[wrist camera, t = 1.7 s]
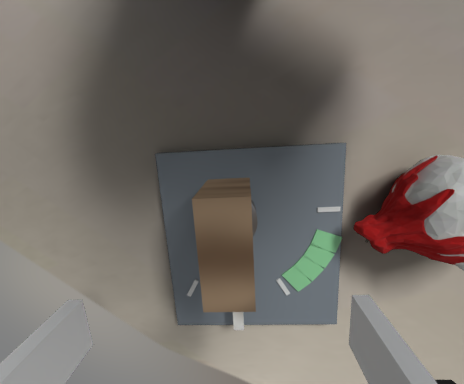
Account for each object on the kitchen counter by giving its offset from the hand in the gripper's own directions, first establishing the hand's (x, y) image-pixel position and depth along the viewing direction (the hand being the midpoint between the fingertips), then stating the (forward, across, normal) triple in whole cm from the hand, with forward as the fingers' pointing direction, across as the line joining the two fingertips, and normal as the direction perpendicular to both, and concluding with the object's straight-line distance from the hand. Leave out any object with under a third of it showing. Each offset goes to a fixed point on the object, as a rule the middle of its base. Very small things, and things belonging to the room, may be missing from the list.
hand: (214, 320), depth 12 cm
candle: (+17, +20, 0) cm, 26 cm away
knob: (+16, 0, -4) cm, 16 cm away
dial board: (+17, +2, -4) cm, 18 cm away
